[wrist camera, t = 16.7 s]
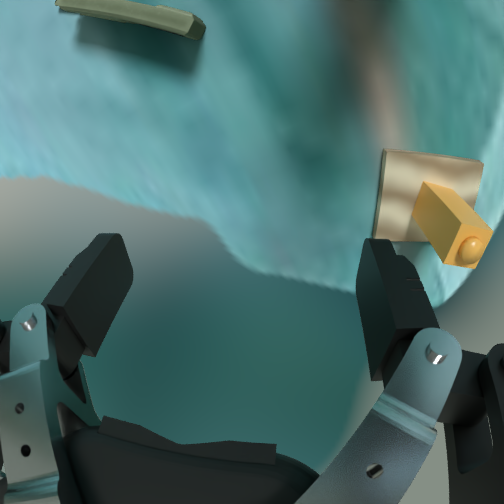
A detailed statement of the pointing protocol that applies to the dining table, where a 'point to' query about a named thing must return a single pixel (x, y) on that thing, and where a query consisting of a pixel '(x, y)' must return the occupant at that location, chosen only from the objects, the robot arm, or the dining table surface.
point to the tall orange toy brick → (451, 225)
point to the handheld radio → (139, 15)
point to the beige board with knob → (418, 188)
